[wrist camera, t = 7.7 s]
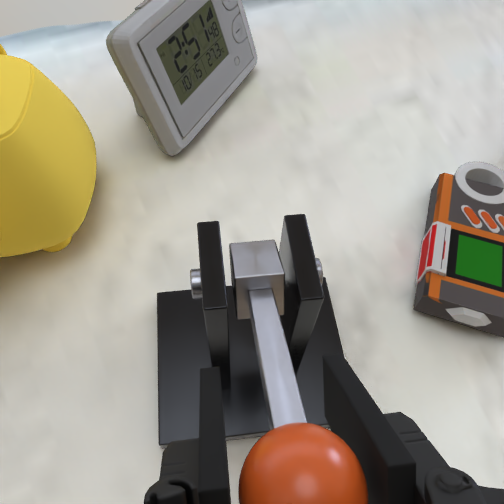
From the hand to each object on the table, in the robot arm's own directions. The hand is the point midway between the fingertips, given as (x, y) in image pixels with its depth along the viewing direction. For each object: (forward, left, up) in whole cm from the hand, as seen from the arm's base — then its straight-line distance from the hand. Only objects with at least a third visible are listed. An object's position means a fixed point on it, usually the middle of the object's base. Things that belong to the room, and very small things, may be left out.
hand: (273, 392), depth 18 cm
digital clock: (-2, +31, -12) cm, 33 cm away
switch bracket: (0, +5, -11) cm, 12 cm away
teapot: (-17, +18, -12) cm, 27 cm away
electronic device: (+18, +12, -12) cm, 25 cm away
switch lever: (0, 0, 0) cm, 0 cm away
